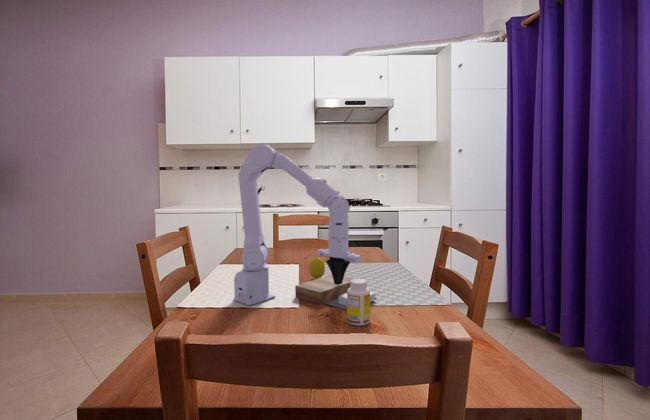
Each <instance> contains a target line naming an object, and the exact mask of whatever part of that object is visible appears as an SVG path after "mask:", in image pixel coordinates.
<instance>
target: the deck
mask: <svg viewBox="0 0 650 420" xmlns="http://www.w3.org/2000/svg"><path fill="white" fill-rule="evenodd" d="M353 279H354V278H353ZM353 279H352V278H347V277H344V278H343V282H342V284H339V285H336V284H334V280H333V276H332V274H328V275H325V276H322V277H320V278H318V279H312V280H309V281H306V282H302V283H299V284H295V287H294V290H295V292H294V293H295V298H296V297H297V298H296V299H300V300H304V301H306V302H307V301H308V302H310V303H313V304H317V305H319V306H321V305H325V304H326V303H327V302H329V301H332V300H334V299H337V298H339V296H341V295H343V294H346V293H347V290H348V288H350V281H351V280H353Z"/></svg>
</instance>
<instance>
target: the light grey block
mask: <svg viewBox="0 0 650 420" xmlns="http://www.w3.org/2000/svg"><path fill="white" fill-rule="evenodd" d="M375 297H376V292H372V291H370V303H372V302H373V301H375V300H376V299H375ZM339 304H343V305H346V306H347V293H346V294H343V295H341V296H339Z"/></svg>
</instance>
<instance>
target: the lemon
mask: <svg viewBox="0 0 650 420" xmlns="http://www.w3.org/2000/svg"><path fill="white" fill-rule="evenodd" d="M325 270H326V267H325V261H324V260H323V258H321V257H319V256H315V257H313V258H312V259H311V260H310V262H309V265H308V272H309V275H310V276H311V277H312V278H315V279H318V278H322V277H324V275H325V273H326V272H325ZM315 279H314V280H315Z"/></svg>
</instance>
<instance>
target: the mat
mask: <svg viewBox="0 0 650 420" xmlns="http://www.w3.org/2000/svg"><path fill="white" fill-rule="evenodd" d="M376 299H377V297H376V296H375V300H376ZM325 305H328V306H331V307H334V308H339V309H342V310H345V311H347V306H346V305H343V304H339V298H337V299H334V300H332V301H329V302H327V303H325Z"/></svg>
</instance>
